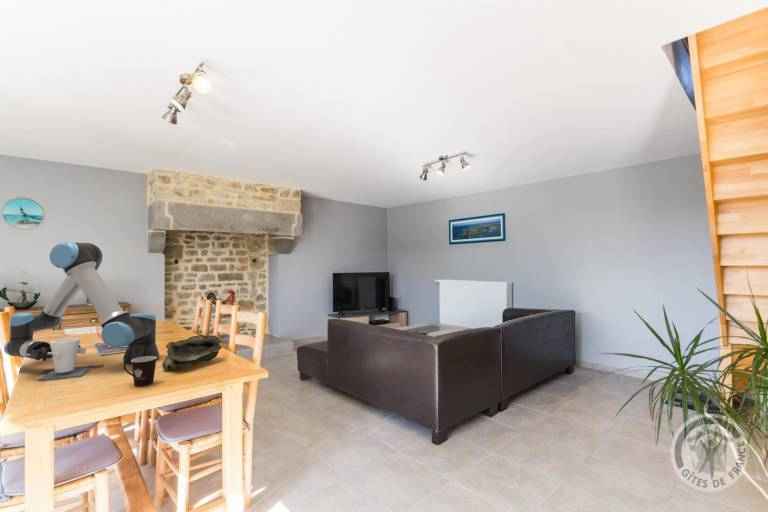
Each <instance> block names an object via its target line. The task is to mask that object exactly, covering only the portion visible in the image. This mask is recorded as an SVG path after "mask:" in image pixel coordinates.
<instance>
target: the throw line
mask: <svg viewBox="0 0 768 512" xmlns="http://www.w3.org/2000/svg"><path fill="white" fill-rule="evenodd" d="M90 367H91V369H98V368H103V367H104V363H102V364H93V365H92V364H89V365H82V366H78V365H77V366H75V368H74V369H79V368H90ZM51 371H55V370H54V368H47V369H42V370H40V374H48V373H49V372H51Z"/></svg>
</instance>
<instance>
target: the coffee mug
mask: <svg viewBox="0 0 768 512" xmlns="http://www.w3.org/2000/svg"><path fill="white" fill-rule="evenodd" d="M156 359H157V357H154V356H146V357H139V358H135V359H132V360H131V362H127V363H123V369H124V371H125V372H126V373H127V374H129V376H132V377H133V385H134V387H138V388H139V387H147V386H150V385H152V384H153V383H154V380H155V379H154V378H155V371H156V365H157V360H156ZM128 363H129V364H128ZM127 365H131V370H132V373H131V371H129V370H127V368H126V366H127Z"/></svg>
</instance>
